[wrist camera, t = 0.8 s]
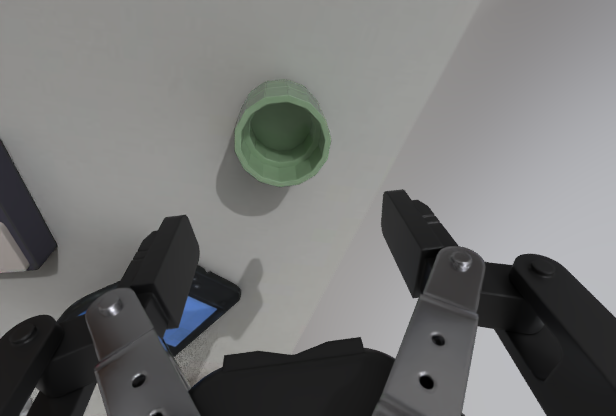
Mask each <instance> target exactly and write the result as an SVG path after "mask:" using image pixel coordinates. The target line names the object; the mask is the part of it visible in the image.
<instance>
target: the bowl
mask: <svg viewBox="0 0 616 416" xmlns="http://www.w3.org/2000/svg"><path fill="white" fill-rule="evenodd" d="M330 144H331V136H330V133H329V129H328V126H327V122H326V119H325V117H324V115H323V113H322V110H321V108H320V106H319V104H318V101H317V100H316V99H315V98H314V96H313V95H312V94H311V93H310V92H309V91H308V90H307V89H306V88H305V87H304V86H302V85H300V84H297V83H294V82H292V81H289V80H287V79H286V80H285V79H284V80H274V81H267V82H264V83H263V84H261V85H260V86H258V87H257V88H255V89H254V90H252V91H251V92H250V93H249V95H248V97H247V99H246V101H245V103H244V104H243V106H242V108H241V111H240V115H239V118H238V121H237V124H236V127H235V147H234V150H235V153H236V155H237V157H238V159H239V161H240V163H241V165H242V167H243V168H244V170H246V171H247V172H248V173H249V174H251V175H252V176H253V177H254V178H256V179H257V180H258V181H260V182H263V183H266V184H270V185H273V186H277V187H283V186H292V185H298V184H301V183H303V182H304V181H306V180H308V179H310V178H311V177H313V176H315V175H316V174H317V173H318V171H319V170H320V169H321V167H322V166H323V165H324V163H325V162H326V161H327V159H328V154H329V149H330Z"/></svg>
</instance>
